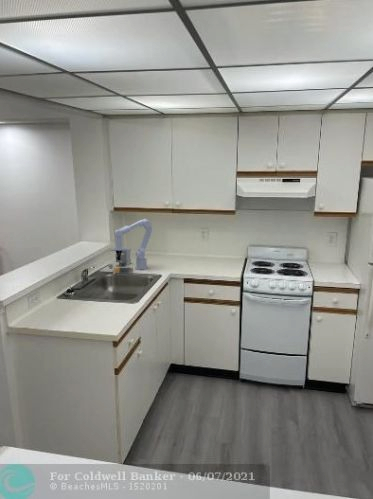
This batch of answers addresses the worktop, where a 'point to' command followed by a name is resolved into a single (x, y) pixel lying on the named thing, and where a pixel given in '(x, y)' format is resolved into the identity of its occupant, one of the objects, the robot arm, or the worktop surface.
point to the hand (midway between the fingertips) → (119, 259)
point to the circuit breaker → (124, 258)
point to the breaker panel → (123, 271)
